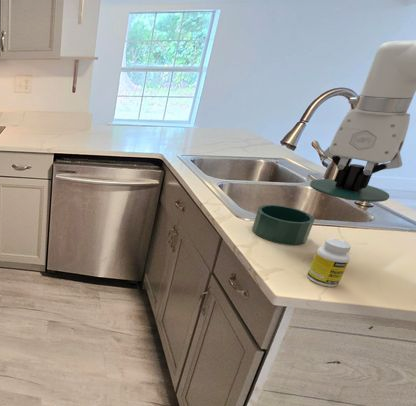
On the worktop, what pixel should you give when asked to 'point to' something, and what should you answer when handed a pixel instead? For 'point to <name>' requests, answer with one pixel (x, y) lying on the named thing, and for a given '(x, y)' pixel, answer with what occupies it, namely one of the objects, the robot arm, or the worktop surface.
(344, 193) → the lid
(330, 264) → the supplement bottle
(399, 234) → the worktop surface
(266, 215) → the pot
